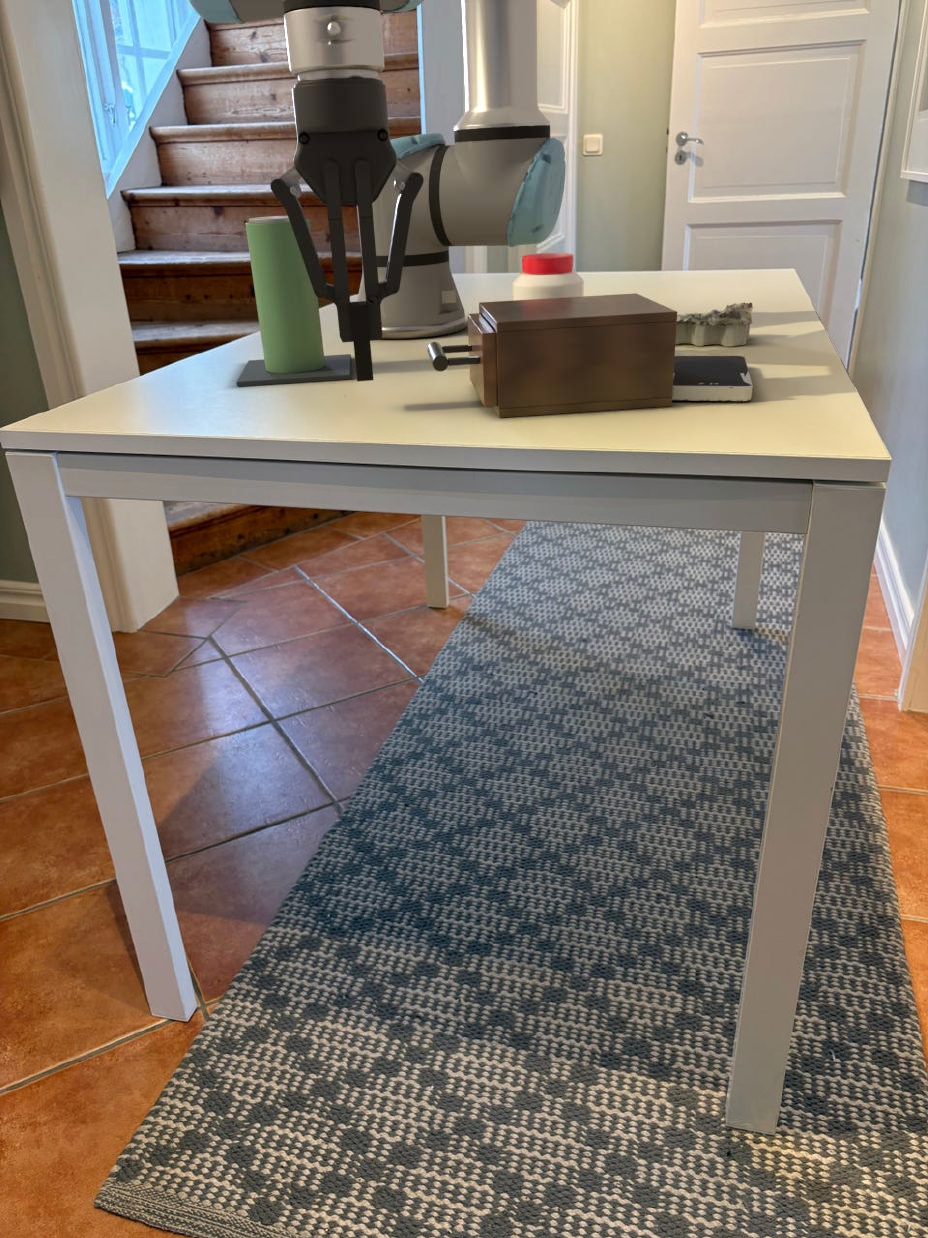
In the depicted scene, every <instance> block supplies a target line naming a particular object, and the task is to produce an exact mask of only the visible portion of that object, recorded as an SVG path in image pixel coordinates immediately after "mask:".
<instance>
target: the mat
mask: <svg viewBox="0 0 928 1238" xmlns="http://www.w3.org/2000/svg"><path fill="white" fill-rule="evenodd" d="M324 360H325V366H324V367H323V368H320V369H317V370H313V371H308V372H301V373H272V372H268V371H266V368H265V361H264V359H253V360H252V359H250V360H248V361H247V363H246V364H245V366H244V368H243V370H242V371H241V373H240V375H239V377H238V378H237V380H236V382H235V383H236V387H249V386H266V385H282V384H283V385H284V384H299V383H300V384H301V383H311V382H312V383H314V382H329V381H344V380H345V381H346V380H351V374H352V373H351V372H352V371H351V369H352V355H351V353H346V354H332V355H331V354H330V355H329V354H328V355H324Z"/></svg>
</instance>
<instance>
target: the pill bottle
mask: <svg viewBox="0 0 928 1238" xmlns="http://www.w3.org/2000/svg"><path fill="white" fill-rule="evenodd" d="M574 257H575V256H574V254H573V253H567V252H546V253H545V252H544V253H533V254H525V255H522V257H521V269H522V270H521V271H522V272H520V273H518V275H517V276H516V277H515V278H514V279H513V281H512V283H511V301H514V300H531V299H548V298H566V297H583V296H585V294H584V292H585V291H584V290H585V289H584V288H585V282H584V281H585V280H584V278H583V277H581V275H580V274H579V273H578V272H577V271H576V270H574V260H575V258H574Z"/></svg>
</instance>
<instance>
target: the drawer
mask: <svg viewBox="0 0 928 1238" xmlns="http://www.w3.org/2000/svg"><path fill="white" fill-rule="evenodd" d="M467 338H468V341H467V342H468V344H456V345H454V344H453V345H441V344H440V343H439V342H437V341H432V342H430V343H429V344H428V346H427V348H426V351H427V354H428V357H429V360H430V362H431V364H432V367H433V369H434V370H435V371H436V372H444V371H446V370H447V369H448V367H454V366H455V367H456V366H468V368H469V380H470V382H471V385H472V386H473V388H474V390H475V392H476V393H477V395H478V398H479V399H480V401H481V403H482V405H483V407H484V408H489V407H493V406H498V400H497V359H496V330H495V331H494V330H493V329H492V327H491V326H490V325H489V324H488V323H487V322H486V320H485V319H484V318H483V317H482V316H481V314H480V313H479V312H475V313H467ZM457 353H468V356H460V357H459V356H458V357H448V358H447V356H446V354H457Z"/></svg>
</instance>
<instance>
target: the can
mask: <svg viewBox="0 0 928 1238" xmlns="http://www.w3.org/2000/svg"><path fill="white" fill-rule="evenodd" d="M305 219H306V218H305ZM306 222H307V225H308V227H309V230H310V233H311V225H310V223H311V222H310V219H308V218H307V219H306ZM245 230H246V238H247V245H248V251H249V252H248V253H249V260H250V266H251V275H252V280H253V288H254V289H253V290H254V296H255V302H256V309H257V318H258V325H259V331H260V339H261V346H262V352H263V353H262V354H263V360H264V361H265V368H266V371H268V372H272V373H301V372H308V371H313V370H317V369H320V368H323V367H324V366H325V360H324V356H325V352H324V342H323V334H322V325H321V316H320V315H321V314H320V306H319V298H318V297H317V296H316V295H315V293H314V290H313V287H312V284H311V281H310V278H309V276H308V273H307V270H306V267H305V264H304V261H303V258H302V255H301V252H300V249H299V247H298V244H297V241H296V238H295V235H294V232H293V229H292V226H291V223H290V221H289V218H288V215H273V216H272V215H271V216H260V217H251V218H248V222H245ZM311 234H312V233H311Z"/></svg>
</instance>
